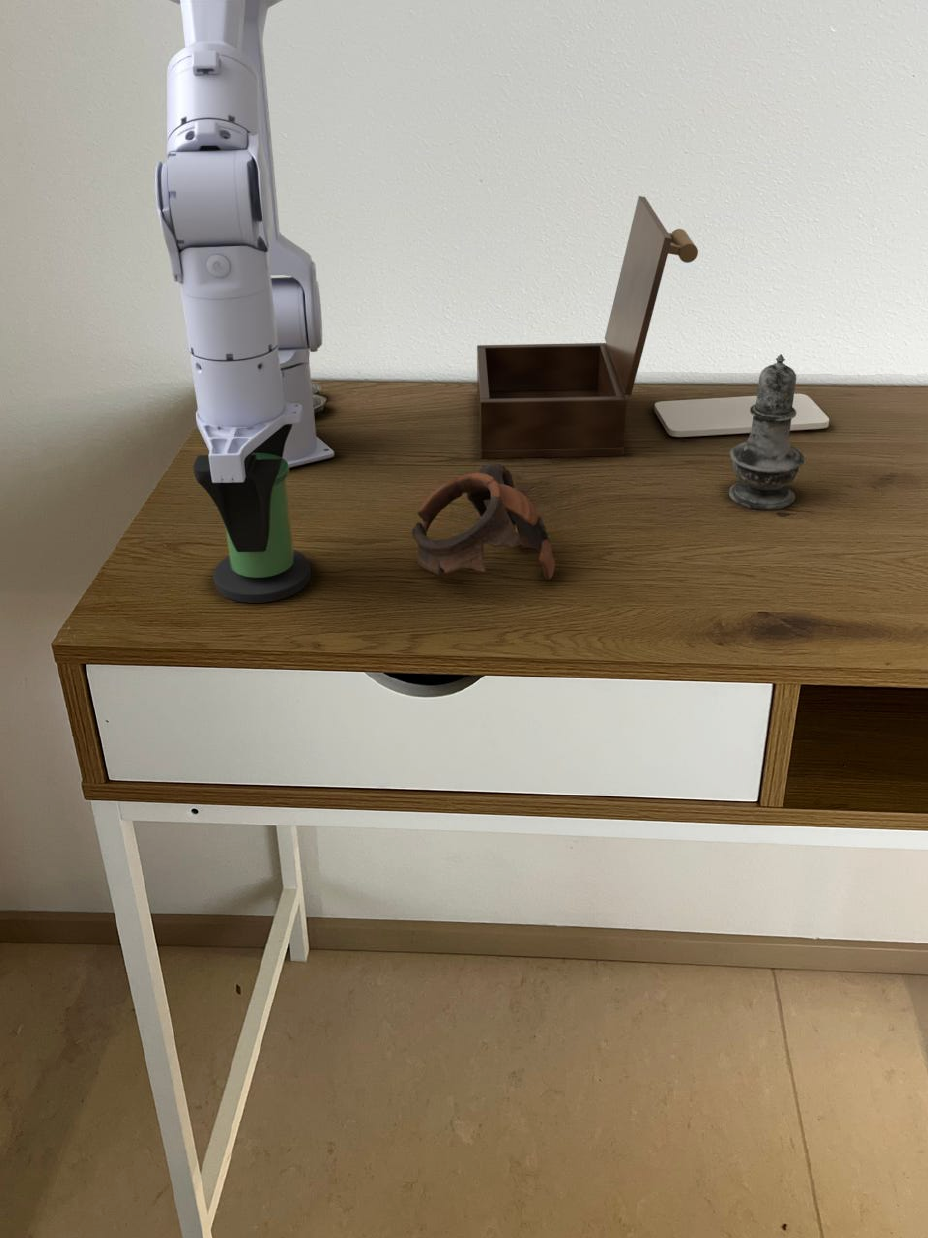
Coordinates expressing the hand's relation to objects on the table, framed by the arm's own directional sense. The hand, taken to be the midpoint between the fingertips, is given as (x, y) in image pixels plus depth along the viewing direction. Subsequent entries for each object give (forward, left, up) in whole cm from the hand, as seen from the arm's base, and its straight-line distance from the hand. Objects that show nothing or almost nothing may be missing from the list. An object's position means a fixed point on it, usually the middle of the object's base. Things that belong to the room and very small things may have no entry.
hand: (257, 531), depth 82 cm
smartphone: (-4, +49, -4) cm, 50 cm away
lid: (-10, +40, +8) cm, 42 cm away
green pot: (0, 0, -3) cm, 3 cm away
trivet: (0, 0, -4) cm, 4 cm away
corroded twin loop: (-29, +15, -4) cm, 33 cm away
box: (-13, +33, -4) cm, 36 cm away
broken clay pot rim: (+7, +15, -4) cm, 17 cm away
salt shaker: (+9, +40, -4) cm, 41 cm away
